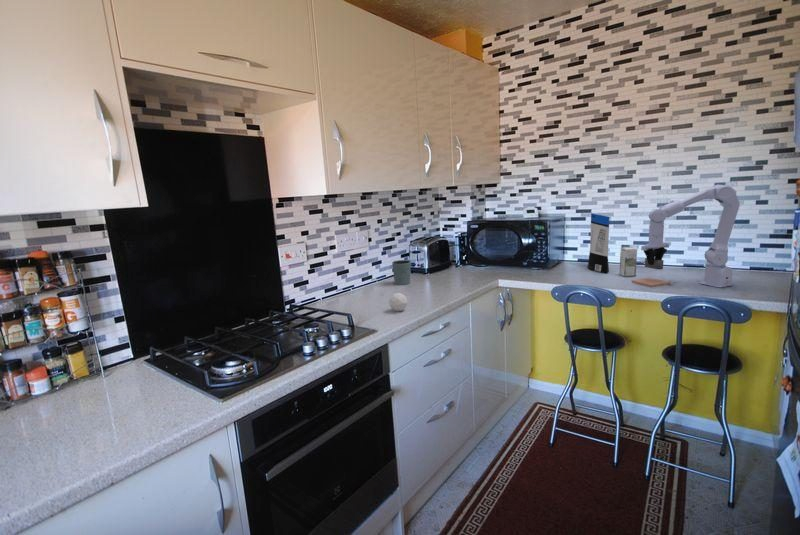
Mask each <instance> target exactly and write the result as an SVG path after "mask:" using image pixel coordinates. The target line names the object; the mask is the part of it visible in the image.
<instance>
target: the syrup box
mask: <svg viewBox="0 0 800 535" xmlns="http://www.w3.org/2000/svg"><path fill="white" fill-rule="evenodd" d="M619 258H620V259H619V275H620V276H622V277H636V276H637V273H636V272H637V259H638V248H637V247H635V246H622V247H621V246H620V256H619Z"/></svg>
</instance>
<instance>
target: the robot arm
mask: <svg viewBox="0 0 800 535" xmlns="http://www.w3.org/2000/svg"><path fill="white" fill-rule="evenodd" d="M738 198H739V197H738V195H737V191H736V189H735V188H734V187H732V185H728V184H714V185H713V186H709V187H706V188H704V189H702V190H700V191H698V192H696V193H694V194H692V195H689V197H686V198H684V199H682V200H678V199H675V200H673V199H672V200H670V201H669V202H668V203H667V204H665V205H660V206H658V208H655V209H652V210H651V211H650V212H649V213H648V218H649V226H648V228H649V229H648V243H646V244H644V245H642V246H640V247H641V248H640V249H641V251H643V253H644V254H645V256H646V257H645V258H647V260H648V264H649V265H653V264H654V258H655V259H661V260H663V257H664V256H665V254H666V252H667V251H668V249H667V248H670V243H667V242H664V234H665V233H664V231H665V220H666V219H667V218H670V217H672V216H674V215H677V214H680V213H682V212H683V211H684V209H685V208H686V207H689V206H690V205H692V204H693V205H694V204H696V203H698V202H702V201H703V200H715V201H717V202H719V205H720V206H722V208H723V209H722V212H721V215H720V219H719V221H718V225H717V228H716V231H715V235H714V238H713V241H712V243H711V244H710V245H709V247H708V249H707V250H706V251H705V253H704V258H705V260H706V262H705V266H704V275H703V281H699V282H698V284H699V285H700V284H701V285H705V286H710V287H715V288H725V287H730V286H733V284H732V280H733V279H732V278H733V269H732V268H731V267H729V266H727V265H726V264H727V263H728V261H729V256H728V252H729V247H728V243H729V240H730V237H731V234H732V231H733V228H734V225H735V221H736V218H737V216H738V212H739V209H740V205H741V203H740V201H739V199H738Z"/></svg>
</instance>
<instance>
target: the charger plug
mask: <svg viewBox="0 0 800 535" xmlns="http://www.w3.org/2000/svg"><path fill="white" fill-rule="evenodd" d="M664 262H665V260H663V259H662V260H661V259H655V258H654V264H653V265H649V264H648V260H647V257H645V258H644V260H641V263H643V264H644V268H648V269H654V270H663V269H664Z"/></svg>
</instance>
